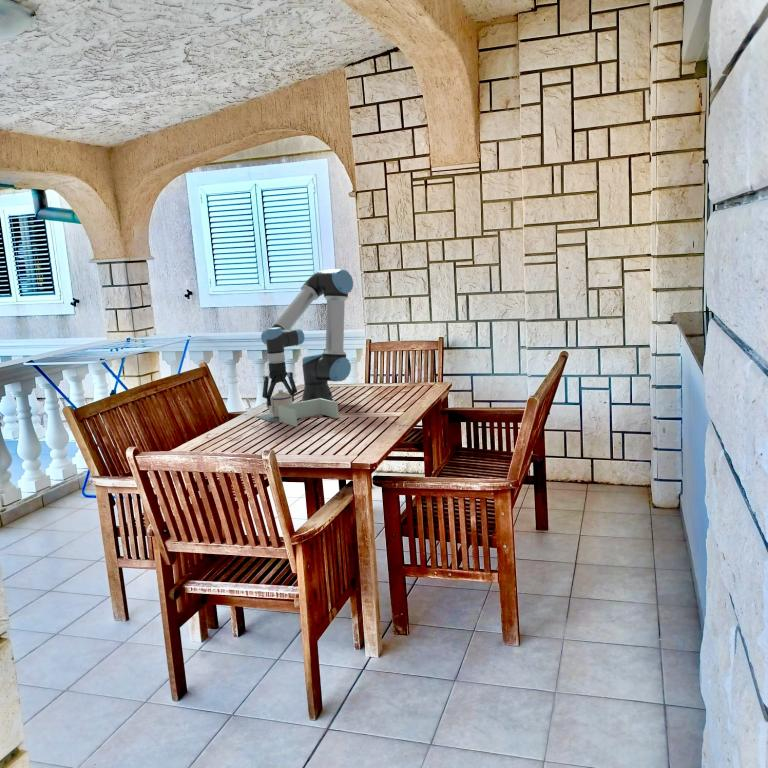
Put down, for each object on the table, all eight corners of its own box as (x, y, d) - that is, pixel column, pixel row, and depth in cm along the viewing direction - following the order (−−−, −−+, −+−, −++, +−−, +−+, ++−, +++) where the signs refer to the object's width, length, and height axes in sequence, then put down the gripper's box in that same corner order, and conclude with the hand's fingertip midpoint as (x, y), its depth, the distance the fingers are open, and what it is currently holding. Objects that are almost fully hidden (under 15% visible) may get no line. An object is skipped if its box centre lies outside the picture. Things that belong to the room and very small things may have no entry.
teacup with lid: (295, 413, 339) (293, 388, 337) (288, 417, 330) (286, 391, 328) (271, 413, 342) (269, 388, 340) (263, 417, 333) (261, 392, 331)
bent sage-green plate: (321, 413, 337) (320, 398, 336) (338, 417, 324) (337, 402, 323) (279, 421, 326) (277, 405, 325) (295, 426, 313) (293, 410, 312)
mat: (291, 410, 349) (291, 409, 349) (308, 415, 334) (308, 414, 334) (255, 417, 339) (255, 416, 339) (272, 422, 324) (272, 421, 324)
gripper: (294, 358, 341) (299, 405, 345) (251, 364, 330) (256, 413, 334) (302, 359, 335) (306, 407, 339) (257, 365, 324) (263, 416, 327)
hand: (281, 410), depth 336 cm, fingers closed on teacup with lid, 9 cm apart
